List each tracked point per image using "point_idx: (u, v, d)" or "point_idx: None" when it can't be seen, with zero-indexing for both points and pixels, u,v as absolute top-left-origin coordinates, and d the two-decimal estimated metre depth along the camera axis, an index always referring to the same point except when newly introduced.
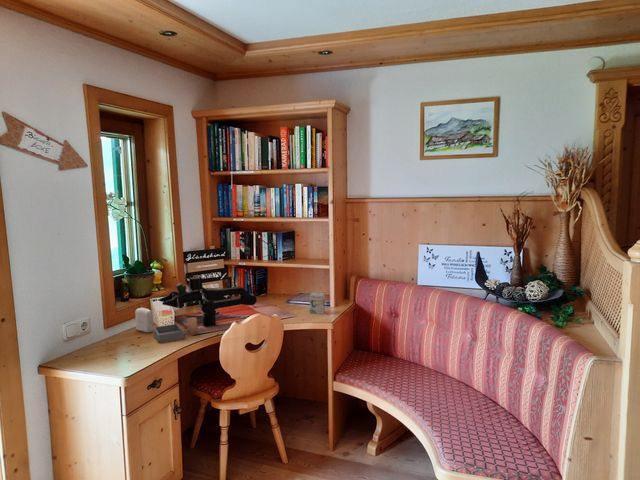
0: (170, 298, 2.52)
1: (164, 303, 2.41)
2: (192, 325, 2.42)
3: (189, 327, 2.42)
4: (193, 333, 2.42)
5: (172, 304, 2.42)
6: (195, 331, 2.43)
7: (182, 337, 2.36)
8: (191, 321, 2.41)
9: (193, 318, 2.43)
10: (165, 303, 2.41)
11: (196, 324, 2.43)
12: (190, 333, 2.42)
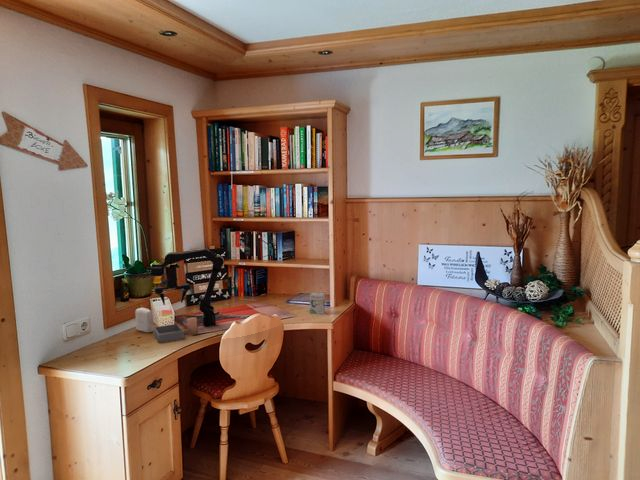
0: (181, 292, 2.55)
1: (163, 303, 2.51)
2: (192, 325, 2.42)
3: (189, 327, 2.42)
4: (193, 333, 2.42)
5: None
6: (195, 331, 2.43)
7: (182, 337, 2.36)
8: (191, 321, 2.41)
9: (193, 318, 2.43)
10: (163, 302, 2.51)
11: (196, 324, 2.43)
12: (190, 333, 2.42)
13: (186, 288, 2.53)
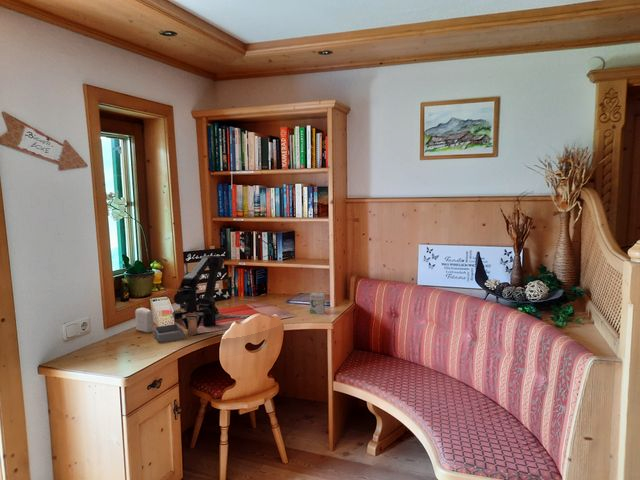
0: (197, 316, 2.45)
1: (186, 327, 2.42)
2: (192, 325, 2.42)
3: (189, 327, 2.42)
4: (193, 333, 2.42)
5: (184, 321, 2.41)
6: (195, 331, 2.43)
7: (182, 337, 2.36)
8: (191, 321, 2.41)
9: (193, 318, 2.43)
10: (186, 327, 2.42)
11: (196, 324, 2.43)
12: (190, 333, 2.42)
13: (206, 312, 2.44)
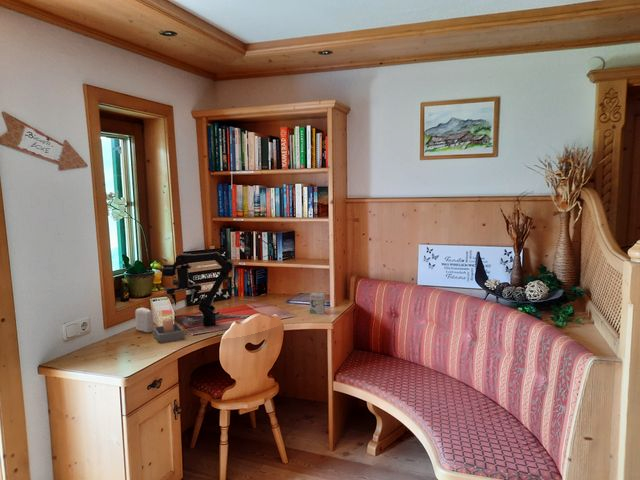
0: (192, 292, 2.58)
1: (174, 303, 2.54)
2: (168, 327, 2.36)
3: (165, 329, 2.37)
4: None
5: (173, 297, 2.52)
6: None
7: (182, 337, 2.36)
8: (167, 323, 2.36)
9: (169, 320, 2.38)
10: (174, 303, 2.54)
11: (172, 326, 2.38)
12: None
13: (197, 288, 2.56)
